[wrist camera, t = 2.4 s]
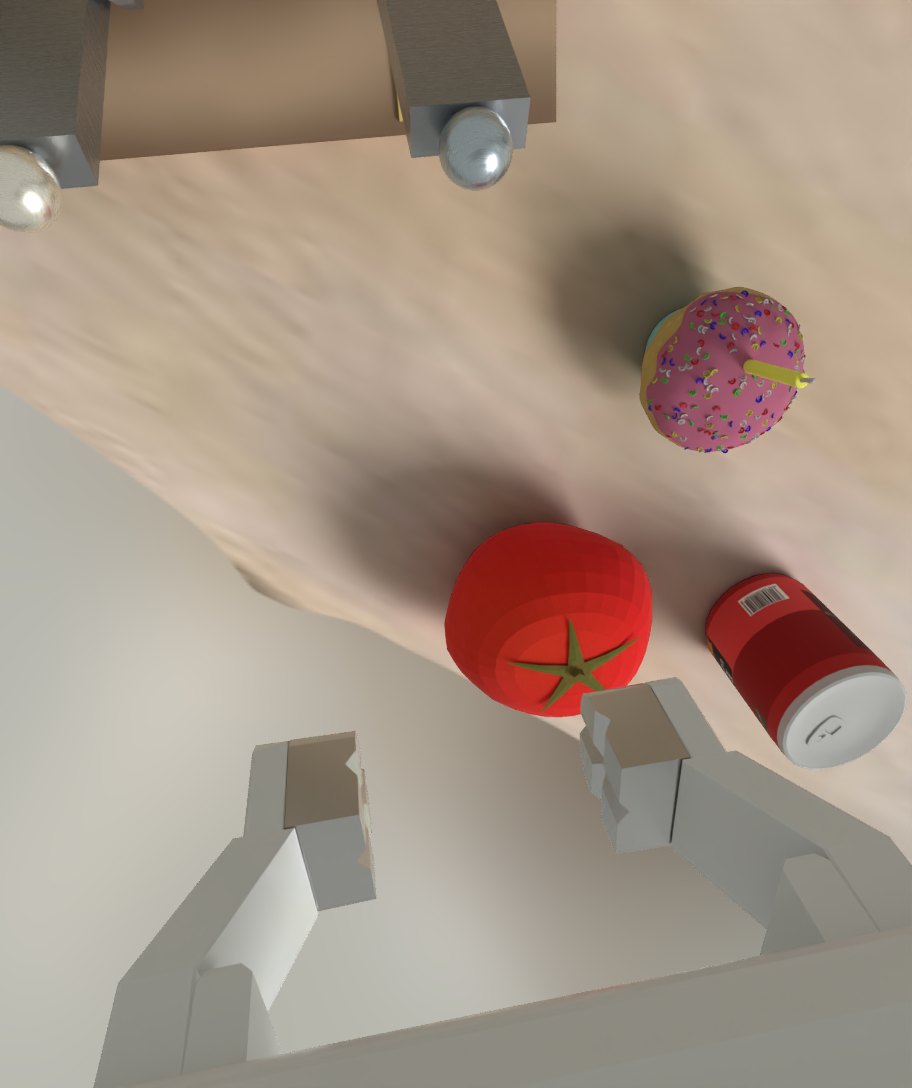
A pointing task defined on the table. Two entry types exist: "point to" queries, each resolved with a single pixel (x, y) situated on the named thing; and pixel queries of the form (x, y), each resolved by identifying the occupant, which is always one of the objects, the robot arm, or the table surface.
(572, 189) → the table surface
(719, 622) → the canned food
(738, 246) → the table surface
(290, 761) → the robot arm
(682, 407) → the cupcake
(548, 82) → the switch box
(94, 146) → the cream knob lever
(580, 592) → the tomato
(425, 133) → the grey knob lever
